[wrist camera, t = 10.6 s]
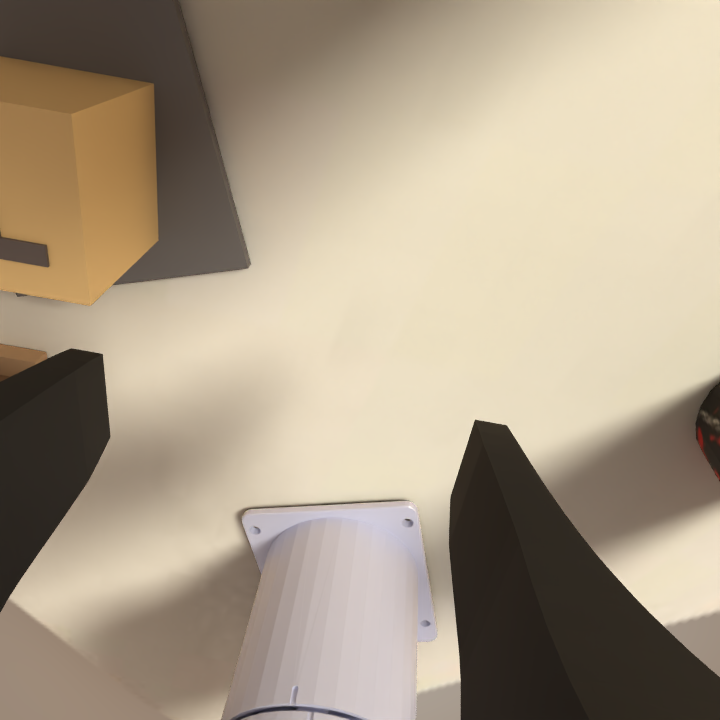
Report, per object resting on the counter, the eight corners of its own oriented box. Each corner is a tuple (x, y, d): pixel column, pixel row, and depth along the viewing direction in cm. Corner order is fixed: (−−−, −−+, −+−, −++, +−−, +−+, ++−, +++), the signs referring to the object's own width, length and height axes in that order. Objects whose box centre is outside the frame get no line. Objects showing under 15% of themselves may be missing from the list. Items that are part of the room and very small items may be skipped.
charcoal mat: (250, 263, 21) (247, 268, 21) (23, 292, 23) (17, 296, 23) (168, -37, 17) (162, -38, 17) (-110, 22, 18) (-120, 23, 18)
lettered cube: (158, 243, 21) (89, 310, 17) (15, 217, 21) (-92, 278, 17) (154, 83, 18) (69, 115, 14) (-11, 54, 18) (-147, 76, 14)
